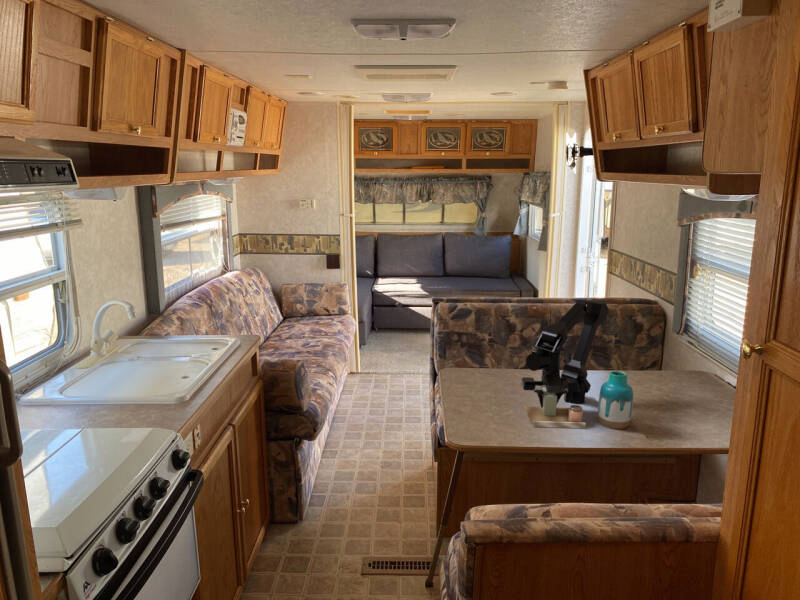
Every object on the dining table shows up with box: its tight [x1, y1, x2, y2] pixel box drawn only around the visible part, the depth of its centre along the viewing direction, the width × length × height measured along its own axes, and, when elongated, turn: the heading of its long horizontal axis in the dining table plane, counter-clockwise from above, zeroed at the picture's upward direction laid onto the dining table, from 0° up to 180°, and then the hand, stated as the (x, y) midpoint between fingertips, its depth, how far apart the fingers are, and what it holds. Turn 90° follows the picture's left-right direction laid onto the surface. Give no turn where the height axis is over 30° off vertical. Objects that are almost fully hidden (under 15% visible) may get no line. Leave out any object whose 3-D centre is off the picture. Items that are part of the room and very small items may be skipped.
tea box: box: [539, 388, 558, 416], centre depth 201 cm, size 7×4×7 cm, turn 178°
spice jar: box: [568, 404, 584, 422], centre depth 192 cm, size 4×4×6 cm
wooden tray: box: [523, 406, 587, 430], centre depth 198 cm, size 17×17×3 cm
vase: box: [597, 370, 634, 430], centre depth 191 cm, size 11×11×19 cm
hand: (547, 407), depth 202 cm, fingers closed on tea box, 4 cm apart
